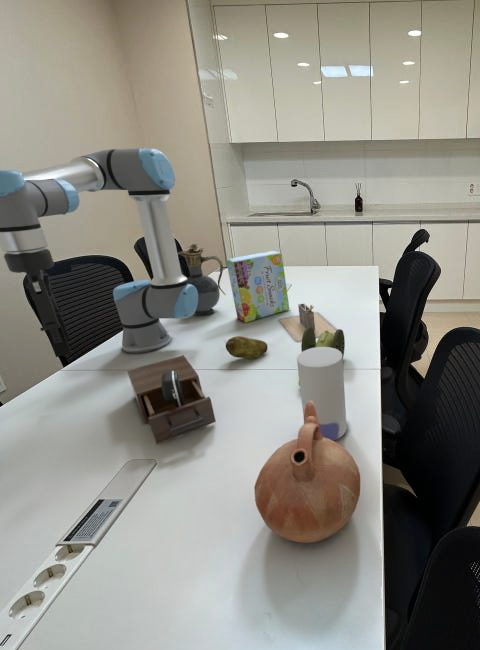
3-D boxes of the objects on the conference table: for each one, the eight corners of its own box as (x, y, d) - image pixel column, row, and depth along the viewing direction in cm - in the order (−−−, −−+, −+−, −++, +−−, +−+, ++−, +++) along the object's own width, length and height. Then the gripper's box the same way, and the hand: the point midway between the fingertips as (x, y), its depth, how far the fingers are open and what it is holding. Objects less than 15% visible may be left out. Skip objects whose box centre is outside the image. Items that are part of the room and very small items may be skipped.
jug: (276, 477, 79) (263, 394, 71) (364, 477, 79) (360, 394, 71) (247, 561, 63) (225, 465, 55) (358, 562, 62) (353, 465, 54)
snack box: (280, 305, 178) (273, 249, 168) (290, 310, 173) (283, 252, 162) (235, 318, 165) (225, 258, 155) (244, 323, 159) (234, 261, 149)
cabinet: (204, 402, 106) (198, 375, 102) (145, 423, 98) (136, 394, 94) (189, 380, 117) (183, 355, 114) (135, 397, 109) (127, 370, 106)
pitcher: (184, 312, 173) (168, 244, 161) (228, 304, 181) (216, 240, 169) (186, 319, 164) (169, 249, 152) (232, 311, 172) (220, 243, 160)
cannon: (325, 393, 109) (321, 357, 104) (285, 389, 111) (280, 354, 106) (347, 353, 131) (346, 322, 126) (314, 351, 133) (311, 320, 129)
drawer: (221, 431, 93) (216, 407, 90) (160, 455, 85) (153, 429, 82) (199, 397, 107) (194, 375, 104) (145, 415, 99) (138, 392, 97)
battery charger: (170, 410, 99) (159, 371, 95) (186, 406, 101) (176, 367, 96) (170, 425, 93) (159, 384, 89) (188, 420, 95) (177, 380, 90)
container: (352, 421, 96) (349, 349, 88) (336, 446, 88) (330, 369, 80) (316, 414, 99) (309, 343, 91) (297, 438, 91) (288, 362, 83)
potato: (268, 360, 128) (264, 338, 124) (227, 365, 125) (222, 343, 122) (268, 350, 135) (265, 329, 132) (230, 354, 133) (226, 333, 130)
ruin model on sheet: (338, 332, 148) (336, 308, 144) (296, 341, 141) (294, 316, 137) (316, 313, 168) (314, 291, 165) (279, 319, 162) (276, 297, 158)
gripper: (7, 245, 87) (43, 336, 96) (-4, 262, 70) (41, 370, 79) (48, 241, 91) (80, 328, 100) (48, 256, 74) (85, 359, 83)
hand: (63, 347), depth 90 cm, fingers open, 10 cm apart
